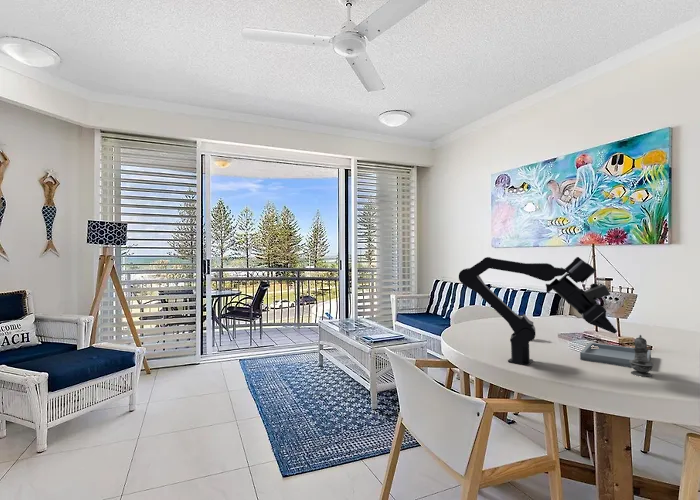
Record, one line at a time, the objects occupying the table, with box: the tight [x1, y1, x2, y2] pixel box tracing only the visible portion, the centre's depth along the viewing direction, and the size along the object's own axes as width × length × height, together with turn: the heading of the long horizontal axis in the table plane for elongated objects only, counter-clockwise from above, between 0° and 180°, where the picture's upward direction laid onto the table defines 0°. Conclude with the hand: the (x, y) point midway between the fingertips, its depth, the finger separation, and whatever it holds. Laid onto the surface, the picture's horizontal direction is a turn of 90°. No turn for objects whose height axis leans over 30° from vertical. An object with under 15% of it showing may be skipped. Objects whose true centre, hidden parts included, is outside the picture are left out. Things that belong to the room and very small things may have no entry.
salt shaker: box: [629, 334, 654, 378], centre depth 111 cm, size 6×6×12 cm
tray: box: [579, 342, 652, 369], centre depth 127 cm, size 18×18×2 cm
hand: (612, 329), depth 114 cm, fingers open, 9 cm apart
